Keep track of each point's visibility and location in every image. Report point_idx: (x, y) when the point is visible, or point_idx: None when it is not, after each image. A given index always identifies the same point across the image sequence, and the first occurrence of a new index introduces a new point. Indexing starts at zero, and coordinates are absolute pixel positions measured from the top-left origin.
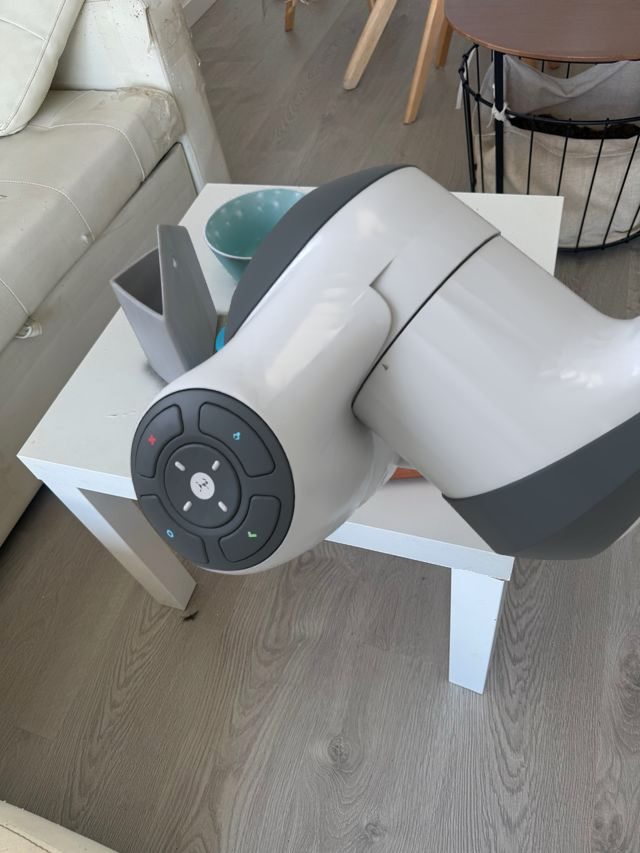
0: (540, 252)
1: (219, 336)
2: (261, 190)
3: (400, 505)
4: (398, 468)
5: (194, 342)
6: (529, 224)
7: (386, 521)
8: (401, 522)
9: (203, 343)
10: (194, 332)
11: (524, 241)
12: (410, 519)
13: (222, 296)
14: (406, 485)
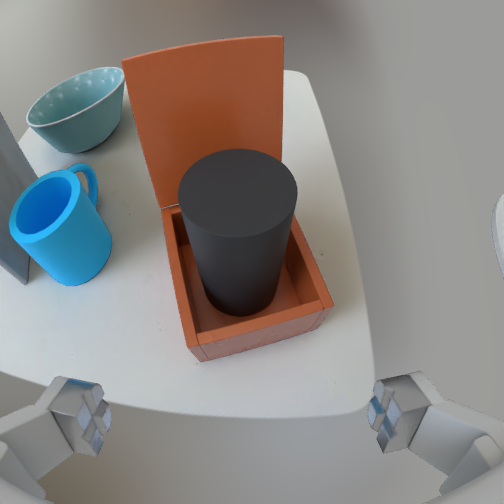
0: (309, 98)
1: (13, 209)
2: (78, 75)
3: (252, 387)
4: (242, 347)
5: (1, 219)
6: (293, 81)
7: (241, 411)
8: (259, 409)
9: None
10: (1, 208)
11: (294, 91)
12: (268, 403)
13: (47, 164)
14: (253, 359)
